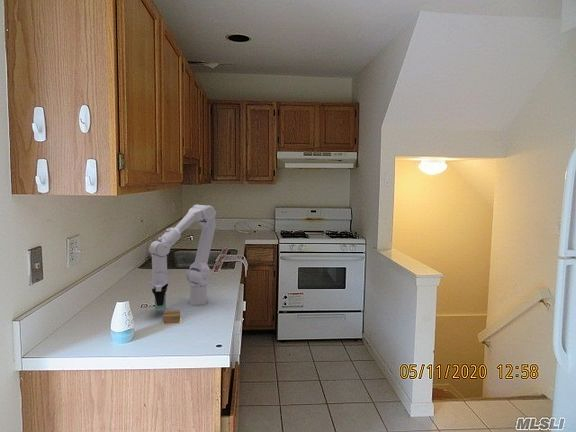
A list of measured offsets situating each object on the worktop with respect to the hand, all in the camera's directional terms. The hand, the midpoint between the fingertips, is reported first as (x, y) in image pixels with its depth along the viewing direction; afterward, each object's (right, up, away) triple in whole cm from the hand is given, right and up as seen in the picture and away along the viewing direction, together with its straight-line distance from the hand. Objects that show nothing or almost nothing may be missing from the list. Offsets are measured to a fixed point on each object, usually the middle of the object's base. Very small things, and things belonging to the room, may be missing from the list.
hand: (160, 303), depth 160 cm
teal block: (0, -2, 0) cm, 2 cm away
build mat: (+4, -5, -4) cm, 8 cm away
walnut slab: (+7, -5, -7) cm, 11 cm away
